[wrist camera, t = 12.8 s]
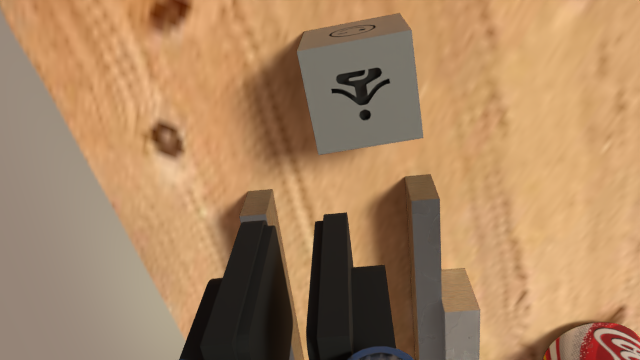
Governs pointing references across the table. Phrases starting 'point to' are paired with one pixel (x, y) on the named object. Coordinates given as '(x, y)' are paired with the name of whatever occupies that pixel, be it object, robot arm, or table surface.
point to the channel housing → (426, 278)
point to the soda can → (596, 343)
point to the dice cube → (361, 84)
